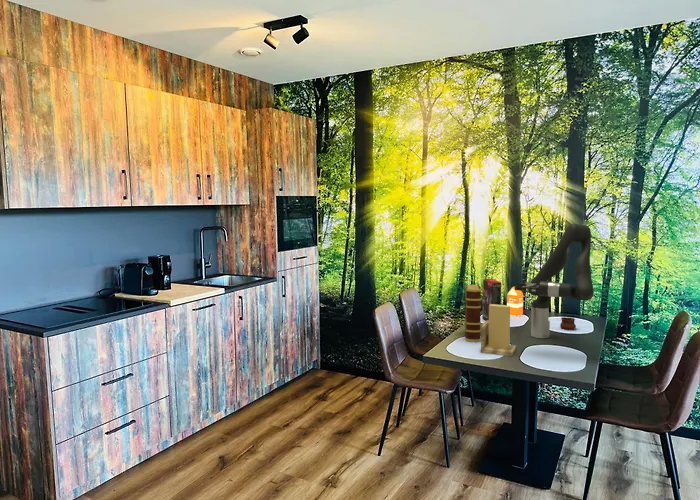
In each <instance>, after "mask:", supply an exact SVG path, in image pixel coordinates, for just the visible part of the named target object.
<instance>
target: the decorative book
mask: <svg viewBox="0 0 700 500" xmlns="http://www.w3.org/2000/svg"><path fill="white" fill-rule="evenodd" d="M464 290H465V291H464V293H465V295H464V299H465V300H464V301H465V302H464V304H465V305H464V309H465V311H464V312H465V313H464V331H465V332H464V333H465V341H466V342H470V343H481V325H482V323H481V317H482V316H481V315H482V314H481V312H482V311H481V309H482V305H481V301H482V298H481V294H482V288H481V286H480V284H479V283H477V284H476V285H475V284H474V285H472V284H471V285H470V284H469V285H468V284H465V287H464Z"/></svg>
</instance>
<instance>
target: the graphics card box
mask: <svg viewBox="0 0 700 500" xmlns="http://www.w3.org/2000/svg"><path fill="white" fill-rule="evenodd" d="M482 285H483V286H482V314H481V315H482V316H481V317H482V319H483V320H485V321H486V320H488V321H489V305H490V304H495V305H502V281H498V280H497V279H493V278H484V279H483V280H482Z"/></svg>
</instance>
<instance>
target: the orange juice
mask: <svg viewBox="0 0 700 500" xmlns="http://www.w3.org/2000/svg"><path fill="white" fill-rule="evenodd" d="M506 296H507V297H506V305H508V306H510V315H516V316H515V317H517V316H518V315H520V316H522V315H521V314H524V292H523V291H519V290H515V286H512V287H511V289H510V290H509V291H508V292H507V295H506ZM518 317H519V316H518Z"/></svg>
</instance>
